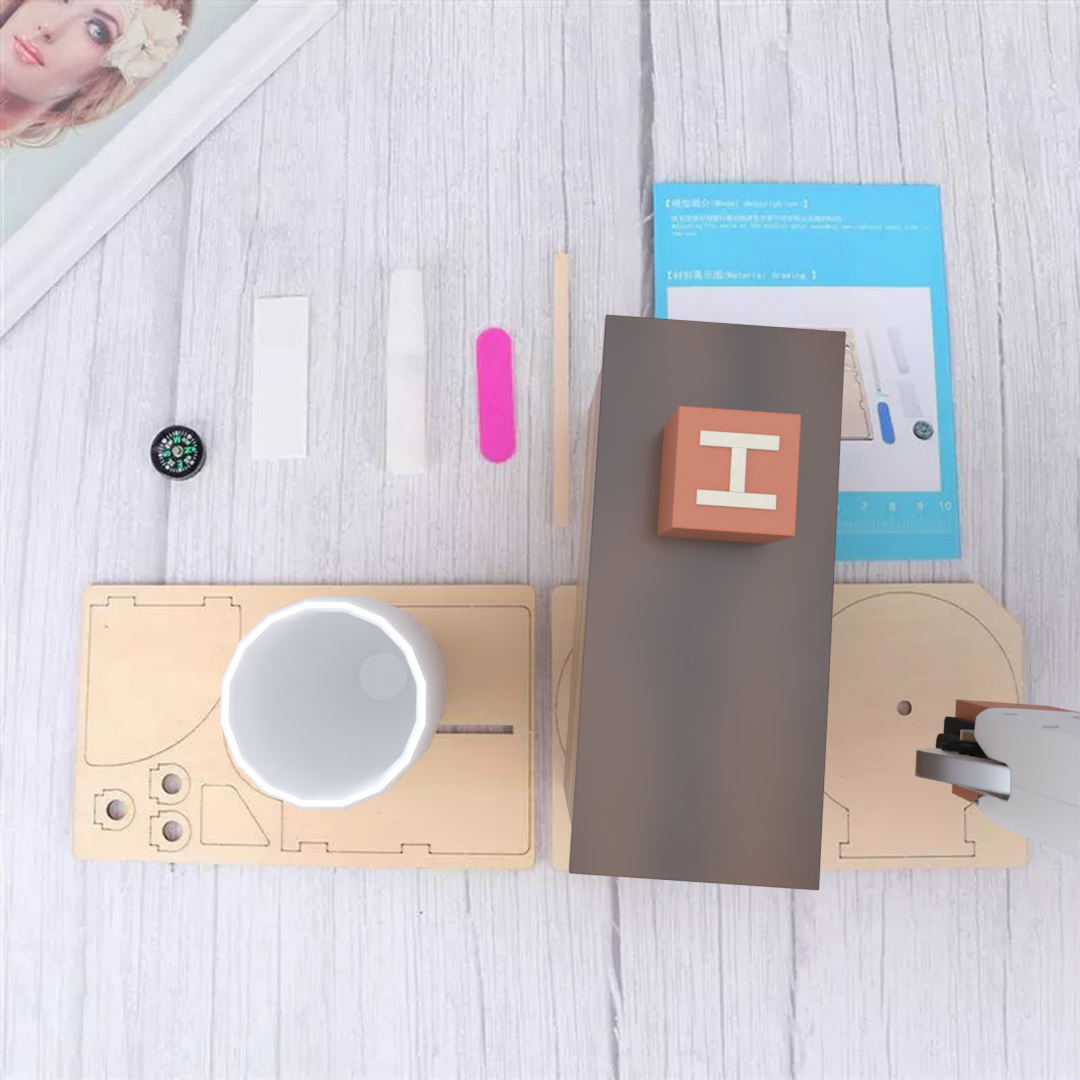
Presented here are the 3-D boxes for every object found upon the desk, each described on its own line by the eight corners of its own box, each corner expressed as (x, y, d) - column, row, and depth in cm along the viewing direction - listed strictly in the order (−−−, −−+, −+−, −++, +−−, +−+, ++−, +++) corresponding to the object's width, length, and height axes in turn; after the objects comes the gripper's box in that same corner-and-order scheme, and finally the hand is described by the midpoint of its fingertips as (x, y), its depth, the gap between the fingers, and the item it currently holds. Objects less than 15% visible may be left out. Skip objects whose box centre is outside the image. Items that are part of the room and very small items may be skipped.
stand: (731, 424, 67) (831, 334, 45) (710, 792, 65) (804, 886, 43) (587, 414, 67) (615, 318, 45) (562, 782, 65) (579, 870, 43)
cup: (368, 780, 65) (288, 866, 43) (284, 650, 65) (164, 670, 44) (498, 694, 65) (484, 736, 44) (414, 565, 66) (359, 544, 44)
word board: (842, 335, 45) (846, 331, 44) (815, 886, 43) (819, 890, 42) (604, 317, 45) (605, 314, 44) (568, 870, 43) (568, 873, 42)
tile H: (773, 433, 44) (803, 412, 39) (768, 544, 43) (797, 536, 39) (663, 426, 44) (680, 404, 39) (656, 536, 43) (672, 527, 39)
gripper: (1500, 738, 33) (1166, 690, 51) (1002, 702, 34) (845, 667, 52) (1499, 961, 33) (1162, 833, 51) (994, 923, 33) (838, 809, 51)
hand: (1004, 750), depth 51 cm, fingers closed on tile I, 5 cm apart
